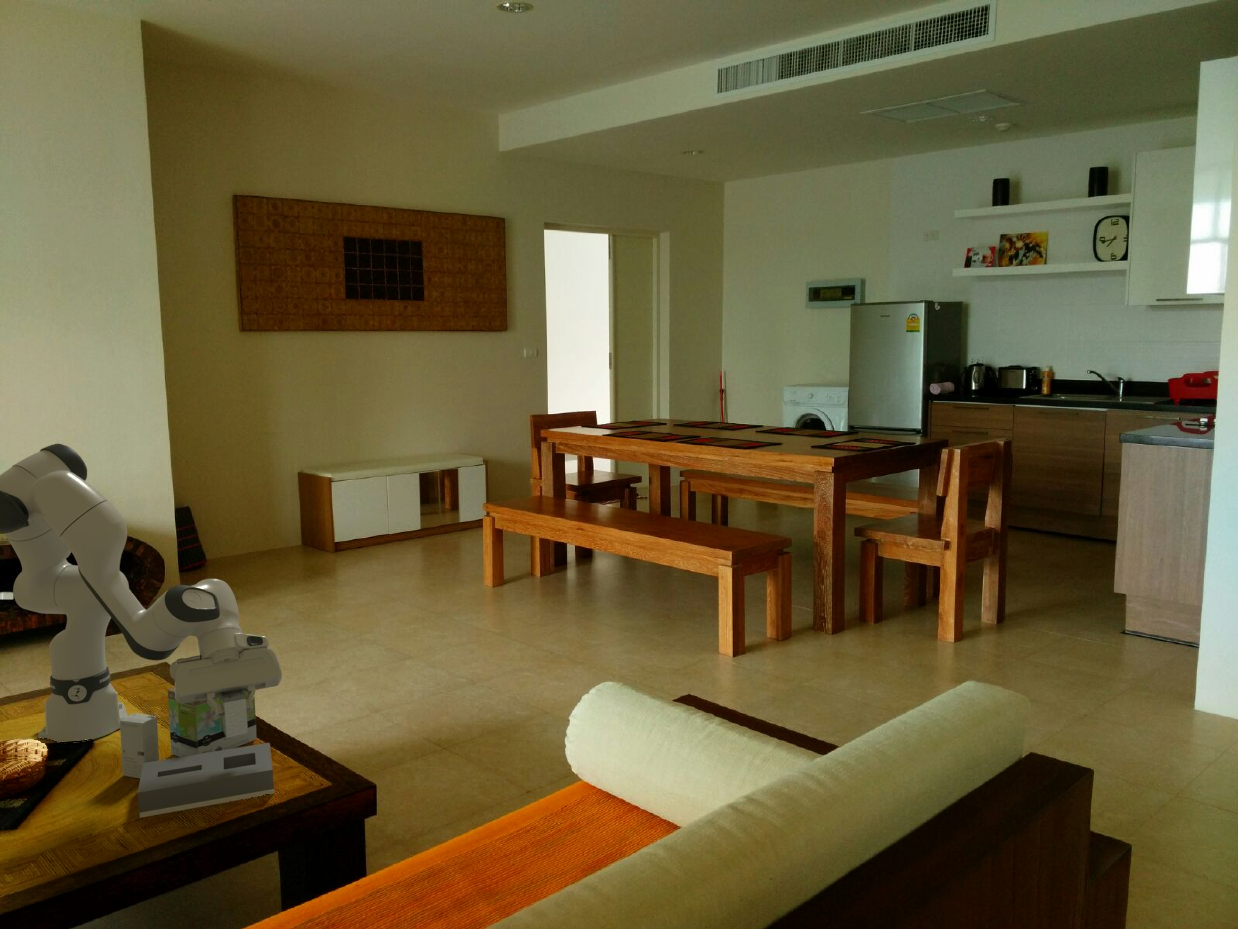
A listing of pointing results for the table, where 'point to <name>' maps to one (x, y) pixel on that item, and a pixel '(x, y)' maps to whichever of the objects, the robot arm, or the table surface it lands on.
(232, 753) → the caddy
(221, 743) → the tea box
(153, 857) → the table surface
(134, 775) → the skincare box
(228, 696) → the grey square-topped block
